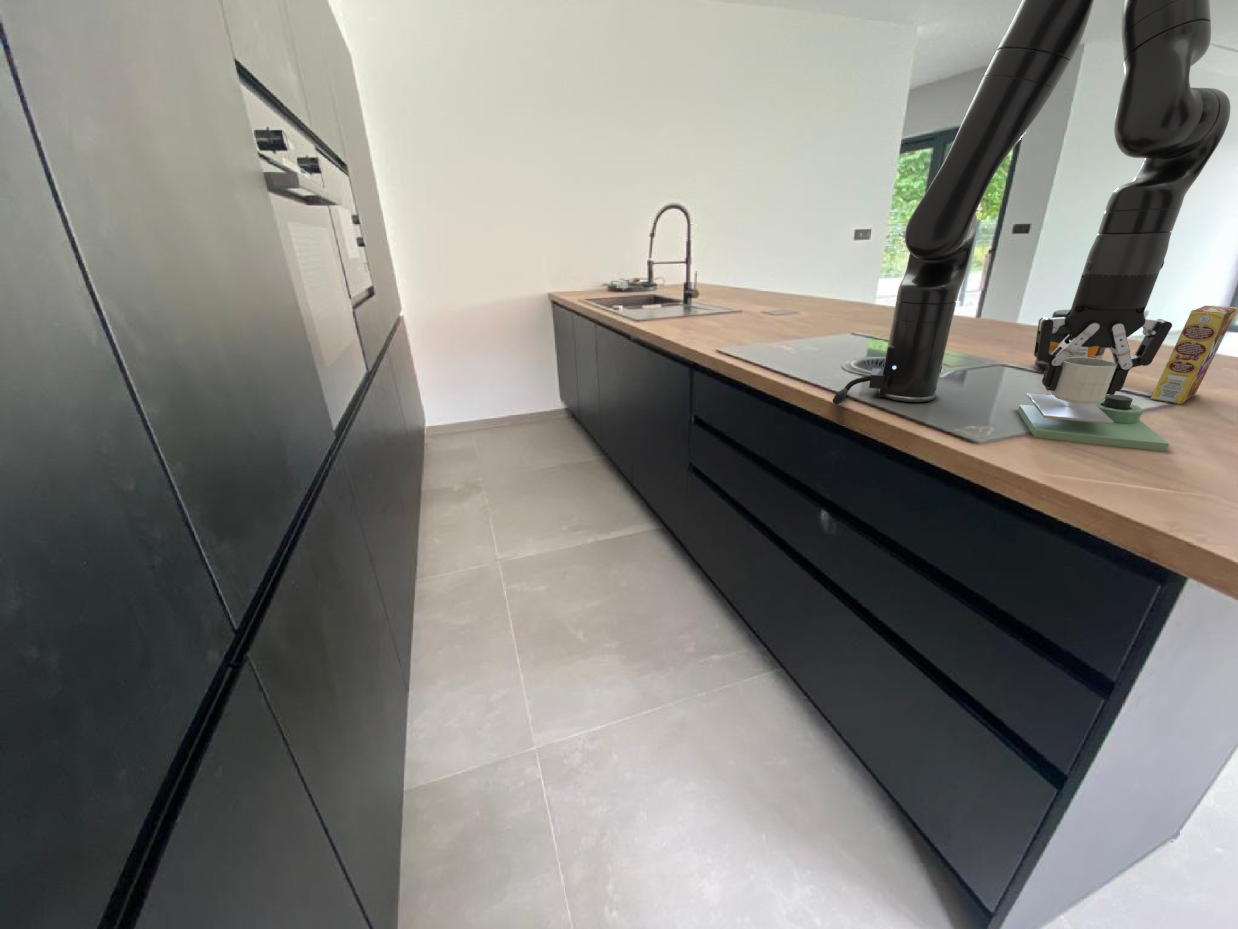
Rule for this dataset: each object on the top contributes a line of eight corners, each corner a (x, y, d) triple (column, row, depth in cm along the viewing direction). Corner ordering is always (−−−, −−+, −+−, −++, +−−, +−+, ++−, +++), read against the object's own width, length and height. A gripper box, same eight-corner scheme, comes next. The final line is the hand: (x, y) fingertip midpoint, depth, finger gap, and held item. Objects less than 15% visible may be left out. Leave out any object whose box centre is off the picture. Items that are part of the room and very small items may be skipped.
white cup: (1055, 402, 73) (1067, 365, 71) (1045, 391, 78) (1056, 356, 76) (1109, 406, 70) (1124, 368, 68) (1095, 394, 75) (1108, 358, 73)
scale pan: (1043, 417, 74) (1044, 415, 73) (1026, 395, 83) (1027, 393, 83) (1112, 424, 70) (1114, 421, 70) (1087, 400, 80) (1087, 397, 80)
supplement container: (1072, 379, 100) (1093, 318, 95) (1020, 367, 110) (1037, 311, 105) (1109, 374, 103) (1132, 313, 98) (1056, 363, 112) (1074, 307, 107)
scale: (1034, 437, 75) (1040, 418, 73) (1017, 410, 85) (1022, 393, 84) (1165, 451, 68) (1175, 431, 67) (1129, 420, 79) (1136, 402, 78)
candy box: (1184, 405, 85) (1226, 312, 78) (1149, 399, 88) (1187, 309, 81) (1198, 395, 89) (1239, 306, 83) (1164, 390, 92) (1202, 304, 86)
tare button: (1105, 410, 77) (1110, 399, 76) (1099, 404, 79) (1103, 393, 78) (1131, 412, 75) (1136, 401, 75) (1124, 406, 78) (1128, 395, 77)
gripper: (1180, 267, 67) (1132, 388, 74) (1046, 268, 73) (1013, 381, 80) (1209, 271, 61) (1154, 403, 68) (1060, 272, 67) (1023, 393, 74)
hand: (1078, 390), depth 74 cm, fingers closed on white cup, 6 cm apart
